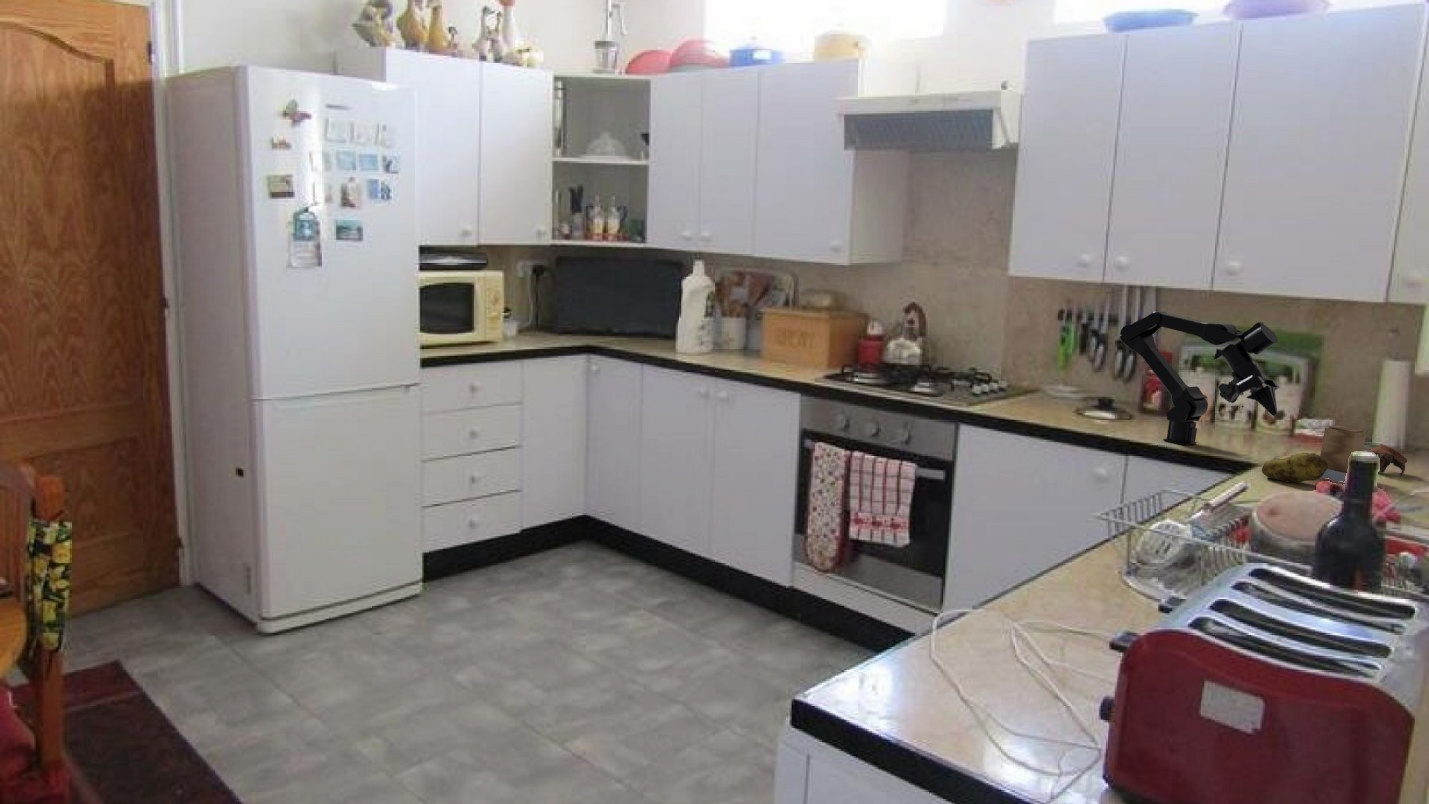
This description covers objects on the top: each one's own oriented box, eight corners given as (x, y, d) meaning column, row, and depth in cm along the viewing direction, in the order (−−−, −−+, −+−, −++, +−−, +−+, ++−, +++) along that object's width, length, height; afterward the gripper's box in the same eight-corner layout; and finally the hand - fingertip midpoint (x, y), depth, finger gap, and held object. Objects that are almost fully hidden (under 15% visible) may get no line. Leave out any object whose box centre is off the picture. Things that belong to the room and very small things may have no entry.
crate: (1315, 475, 254) (1324, 426, 252) (1326, 472, 258) (1335, 424, 255) (1346, 482, 248) (1356, 432, 246) (1357, 479, 252) (1367, 430, 250)
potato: (1275, 475, 252) (1280, 443, 250) (1329, 488, 241) (1335, 455, 240) (1256, 477, 247) (1261, 445, 246) (1310, 491, 237) (1316, 458, 235)
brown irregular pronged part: (1353, 467, 270) (1374, 442, 269) (1388, 489, 266) (1410, 464, 265) (1357, 463, 260) (1379, 437, 258) (1394, 486, 256) (1416, 460, 254)
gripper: (1224, 383, 282) (1256, 432, 276) (1203, 377, 268) (1235, 429, 262) (1262, 361, 276) (1296, 411, 270) (1243, 354, 262) (1277, 406, 256)
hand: (1275, 415), depth 265 cm, fingers closed
